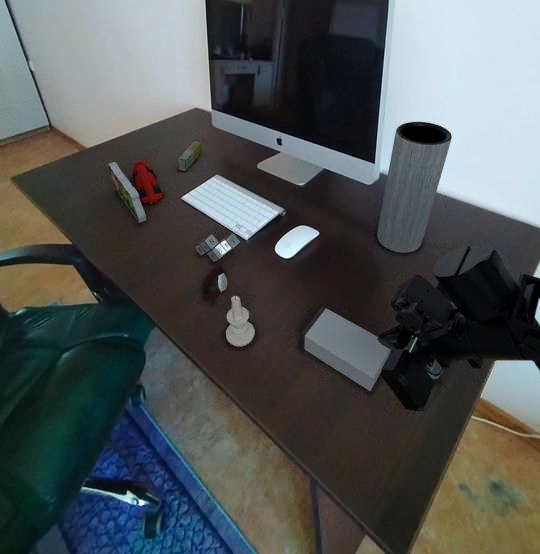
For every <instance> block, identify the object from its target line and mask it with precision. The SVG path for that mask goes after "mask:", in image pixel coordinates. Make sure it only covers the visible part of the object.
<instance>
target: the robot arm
mask: <svg viewBox="0 0 540 554" xmlns="http://www.w3.org/2000/svg"><path fill="white" fill-rule="evenodd" d="M431 272H432V274H433V276H434V277H435V278H432V279H430V280H429V281H428V280H427V279H426V278H425V277H424V276H422V275H420V274H414V275H412V276H411V277H410V278H408V279H407V280H405V282H403V283H402V284H400V285H399V287H398V289H397V291H396V292H395V294H394V296H393V297H392V298H391V300H390V305H391V307H392V309H393V310H394V311H395V315H394V319H395V321H396V322H398V323H399V324H397V325H396V326H395V327H392V328H391V329H389V330H387V331H385V332H383V333H381V334H379V335H378V336H377V337H378V339H377V340H378V341H379V343H380V344H381V345H383V346H385V347H387V348H389V349H390V350H391V351H392V352H390V355H389V356H388V358H387V360H386V362H385V364H384V366H383V367H382V369H381V378H382V379H383V381H384V382H385V383H386V385H387V386H388V387H389V389H390V391H392V393H393V395H394V396H395V397H396V399H397V400H398V401H399V402H400V404H401V406H403V408H404V410H405V411H413V412H424V410H425V408H426V406H427V403H428V401H429V398H430V396H431V393H432V391H433V389H434V386H435V384H436V382H435V381H434V379H432V378H431V377H430V375H429V374H428V373H427V371H426V370H425V369H428V370H429V371H433V369H434V366H435V364H436V362H438V363H439V365H440V366H441V367H442V368H445V369H449V368H450V367H451V364H452V361H467V363H468V364H469V365H470V367H471V368H472V369H475V370H476V369H481V370H482V368H483V365H484V362H486V361H488V362H489V361H493V362H494V361H501V362H503V361H504V362H505V361H514V362H515V361H517V362H519V361H520V362H522V361H523V362H524V361H527V362H528V361H529V362H530V361H531V362H533V363H534V365H535V366H536V368H537V369H538V371H540V322H539V321H538V320H537V319H536V314H537V310H538V305H539V301H540V277H538V276H535V275H531V274H526V273H521V274H520V276H519V278H518V281H517V282H516V280H515V279H514V278H513V276H512V274H511V273H510V272H509V271H508V269H507V268H506V266H505V264H504V261H503V259H502V257H501V255H500V254H499V253H498V252H497V250H496V249H489V250H484V249H483V248H482V247H480V246H476V245H471V246H470V245H467V244H466V245H462V246H459V247H456V248H453V249H452V250H450V251H448V252H446V253H445V254H444V255H442V256H440V257H439V259H438V260H436V262H435V263H434V264H433V266H432V269H431Z"/></svg>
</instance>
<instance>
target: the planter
mask: <svg viewBox="0 0 540 554" xmlns="http://www.w3.org/2000/svg"><path fill="white" fill-rule="evenodd" d="M452 138H453V134H452V133H451V132H450V130H448V129H447V128H446V127H444V126H441V125H439V124H437V123H436V124H435V123H434V122H433V123H432V122H427V121H409V122H404V123H402V124H400V125H398V127H397V128H396V130H395V134H394V138H393V145H392V150H391V155H390V161H389V166H388V172H387V177H386V182H385V188H384V193H383V199H382V203H381V204H382V205H381V209H380V215H379V220H378V225H377V232H376V237H377V240H378V242H379V243H380V244H381V246H383V247H384V248H386V249H388V250H390V251H393V252H395V253H400V254H407V253H412V252H415V251H418V249H420V247H421V245H422V244H423V241H424V237H425V233H426V229H427V226H428V223H429V219H430V216H431V212H432V209H433V206H434V201H435V199H436V195H437V191H438V187H439V185H440V180H441V177H442V173H443V170H444V167H445V163H446V160H447V158H448V157H447V156H448V153H449V149H450V145H451V142H452Z"/></svg>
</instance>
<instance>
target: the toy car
mask: <svg viewBox="0 0 540 554" xmlns="http://www.w3.org/2000/svg"><path fill="white" fill-rule="evenodd" d="M148 161H149V160H148V158H144V159H141V160H137V161H132V162H129V164H130V166H134V167H133V168H132V170H131V175H132V178H133V182H134V183H135V185H136V188H137V190H138V191H139V192H138V194H139V199H140V202H141V203H144V204H145V203H146V204H147V203H149V204H150V205H153V203H154V204H155V203H158V200H160V199H162V198H163V192H162V190H161V187H160V186H157V182H156V178H155V174H154V170H153V168H151V167H150V166H149V165H148V164H145V163H146V162H148Z"/></svg>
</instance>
